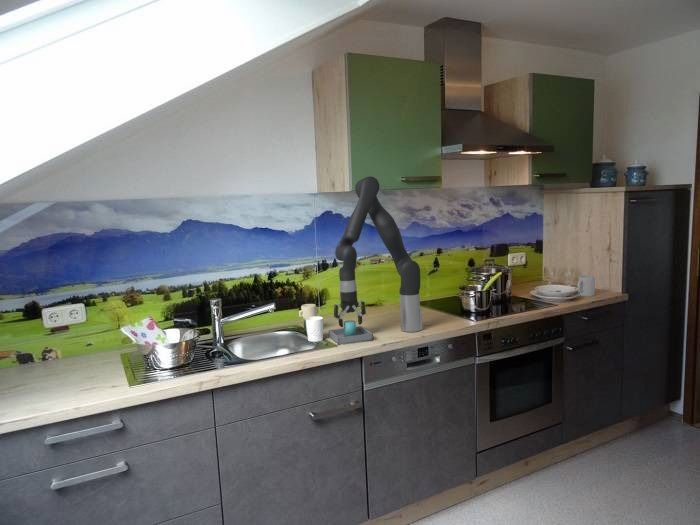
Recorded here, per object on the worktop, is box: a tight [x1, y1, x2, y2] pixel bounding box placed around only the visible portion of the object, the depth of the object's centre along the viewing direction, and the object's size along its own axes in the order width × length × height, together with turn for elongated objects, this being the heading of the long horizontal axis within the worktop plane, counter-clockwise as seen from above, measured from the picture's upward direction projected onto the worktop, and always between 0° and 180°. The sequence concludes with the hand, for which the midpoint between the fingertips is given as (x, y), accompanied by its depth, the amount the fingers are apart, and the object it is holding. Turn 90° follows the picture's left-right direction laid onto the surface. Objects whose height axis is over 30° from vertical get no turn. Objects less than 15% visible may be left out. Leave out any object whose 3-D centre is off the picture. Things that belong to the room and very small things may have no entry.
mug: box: [577, 275, 596, 297], centre depth 296 cm, size 12×8×11 cm
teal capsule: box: [343, 320, 357, 337], centre depth 228 cm, size 5×5×7 cm
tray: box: [328, 325, 374, 346], centre depth 228 cm, size 16×16×3 cm
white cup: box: [306, 315, 324, 343], centre depth 228 cm, size 8×8×10 cm
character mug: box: [298, 303, 320, 333], centre depth 243 cm, size 11×7×13 cm, turn 127°
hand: (350, 325), depth 227 cm, fingers open, 8 cm apart
